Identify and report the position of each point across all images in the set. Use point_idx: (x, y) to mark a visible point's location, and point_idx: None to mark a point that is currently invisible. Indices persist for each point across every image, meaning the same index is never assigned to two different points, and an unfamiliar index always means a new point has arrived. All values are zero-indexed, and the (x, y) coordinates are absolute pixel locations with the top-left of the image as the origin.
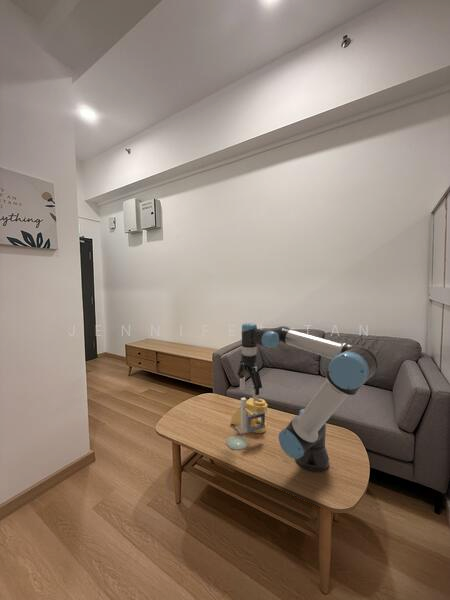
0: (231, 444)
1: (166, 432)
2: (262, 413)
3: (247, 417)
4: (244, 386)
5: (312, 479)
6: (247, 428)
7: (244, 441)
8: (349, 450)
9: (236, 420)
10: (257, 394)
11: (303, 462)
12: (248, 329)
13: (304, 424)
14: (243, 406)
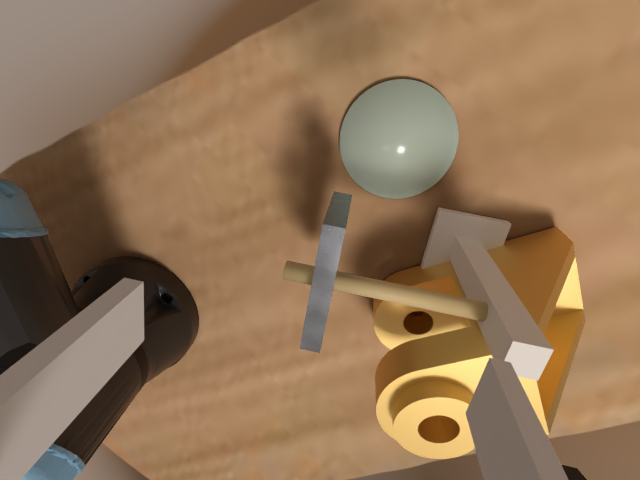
0: (401, 101)
1: None
2: (305, 334)
3: (337, 224)
4: (480, 447)
5: (67, 236)
6: (343, 199)
7: (375, 177)
8: (123, 429)
9: (529, 250)
10: (13, 362)
11: (108, 266)
12: None
13: None
14: (492, 312)
